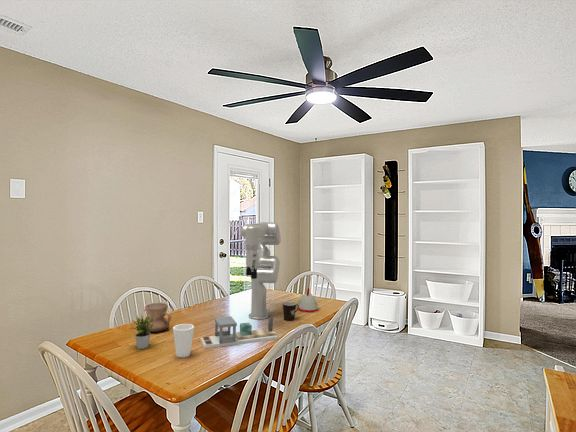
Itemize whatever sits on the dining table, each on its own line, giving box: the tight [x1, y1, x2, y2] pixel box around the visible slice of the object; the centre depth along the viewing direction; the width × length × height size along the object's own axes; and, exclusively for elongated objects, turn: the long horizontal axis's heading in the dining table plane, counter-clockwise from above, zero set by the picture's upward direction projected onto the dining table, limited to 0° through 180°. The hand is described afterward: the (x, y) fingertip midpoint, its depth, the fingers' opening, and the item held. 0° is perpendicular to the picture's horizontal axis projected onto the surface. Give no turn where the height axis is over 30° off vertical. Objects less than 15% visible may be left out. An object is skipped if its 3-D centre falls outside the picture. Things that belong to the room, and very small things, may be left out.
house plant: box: [128, 313, 158, 350], centre depth 170 cm, size 14×14×16 cm
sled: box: [236, 317, 277, 339], centre depth 187 cm, size 21×8×8 cm, turn 113°
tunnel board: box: [200, 315, 279, 350], centre depth 184 cm, size 38×13×11 cm, turn 113°
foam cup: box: [172, 323, 195, 358], centre depth 163 cm, size 10×9×13 cm
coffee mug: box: [282, 301, 299, 322], centre depth 222 cm, size 12×9×10 cm
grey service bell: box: [297, 287, 319, 314], centre depth 245 cm, size 14×14×15 cm
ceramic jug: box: [143, 301, 172, 333], centre depth 196 cm, size 18×14×14 cm
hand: (251, 277), depth 203 cm, fingers open, 9 cm apart
